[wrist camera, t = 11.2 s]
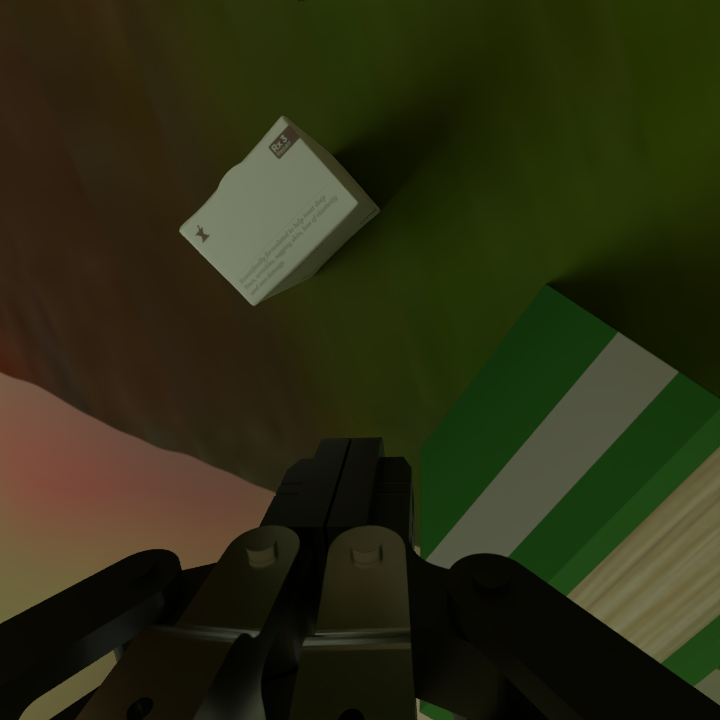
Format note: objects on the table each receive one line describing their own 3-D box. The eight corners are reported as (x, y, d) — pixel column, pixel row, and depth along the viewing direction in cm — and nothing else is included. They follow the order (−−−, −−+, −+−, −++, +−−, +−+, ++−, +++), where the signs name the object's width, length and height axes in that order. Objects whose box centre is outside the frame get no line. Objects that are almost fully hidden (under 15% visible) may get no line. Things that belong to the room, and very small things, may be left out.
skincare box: (311, 278, 40) (251, 319, 26) (259, 223, 39) (169, 234, 25) (386, 205, 38) (364, 208, 24) (332, 145, 37) (277, 110, 23)
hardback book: (545, 283, 38) (725, 402, 16) (622, 333, 39) (906, 520, 16) (420, 448, 44) (419, 711, 21) (489, 490, 44) (559, 791, 22)
